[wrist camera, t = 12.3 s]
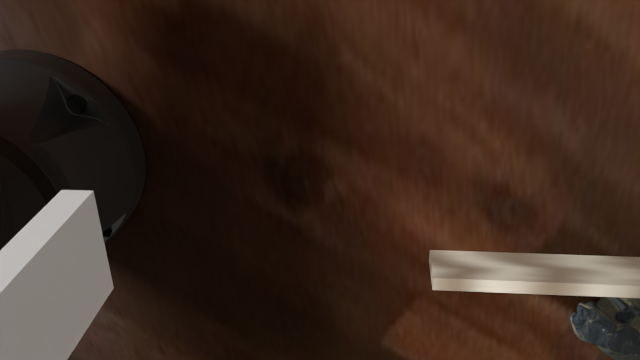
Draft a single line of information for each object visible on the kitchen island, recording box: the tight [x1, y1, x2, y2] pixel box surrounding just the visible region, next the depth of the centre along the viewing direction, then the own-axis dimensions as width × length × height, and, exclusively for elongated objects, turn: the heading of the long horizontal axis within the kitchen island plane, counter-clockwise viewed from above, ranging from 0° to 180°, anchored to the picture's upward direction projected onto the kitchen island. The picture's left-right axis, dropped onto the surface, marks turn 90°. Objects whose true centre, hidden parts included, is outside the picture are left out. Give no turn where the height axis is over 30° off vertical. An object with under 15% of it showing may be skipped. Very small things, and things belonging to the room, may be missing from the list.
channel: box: [429, 250, 640, 298], centre depth 44 cm, size 27×20×4 cm
